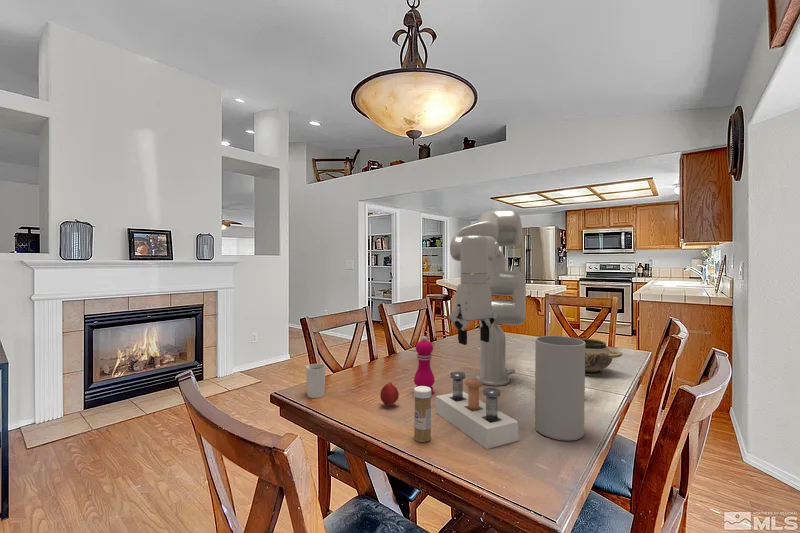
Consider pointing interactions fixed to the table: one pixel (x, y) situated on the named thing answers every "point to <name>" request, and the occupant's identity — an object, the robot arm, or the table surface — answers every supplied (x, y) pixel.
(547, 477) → the table surface
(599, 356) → the ceramic bowl
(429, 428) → the sprinkles bottle
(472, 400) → the rust plug
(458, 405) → the block
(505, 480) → the table surface
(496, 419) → the grey plug
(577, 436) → the cylinder vase
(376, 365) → the table surface
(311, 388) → the drinking glass
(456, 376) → the grey plug
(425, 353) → the pepper mill
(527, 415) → the table surface
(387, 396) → the onion
